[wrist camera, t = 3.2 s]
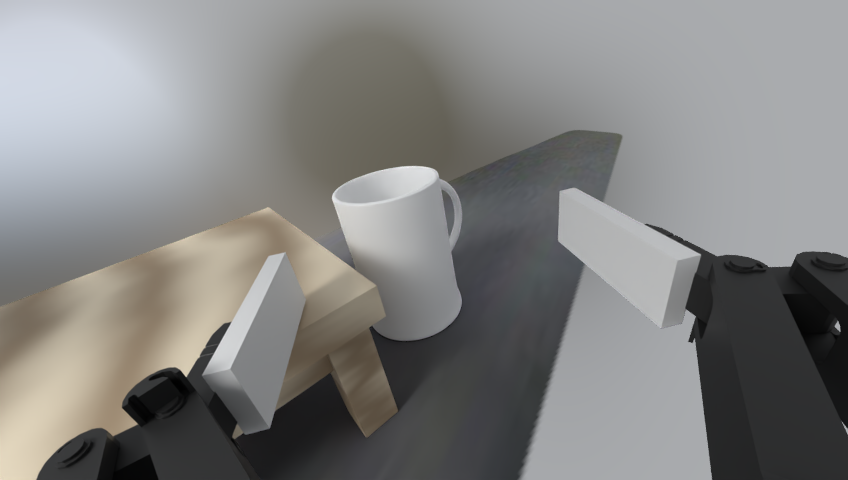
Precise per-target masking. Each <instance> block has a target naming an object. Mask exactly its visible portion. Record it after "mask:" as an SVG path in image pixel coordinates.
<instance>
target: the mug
mask: <svg viewBox="0 0 848 480" xmlns="http://www.w3.org/2000/svg"><path fill="white" fill-rule="evenodd" d="M441 189H442V190H444V191H446V192H447V193H448V194H449V196H450V197H451V199H452V201H453V205H454V211H455V219H454V226H453V230H452V232H451V235H450V237H449V235H448V229H447V223H446V217H445V211H444V204H443V198H442V192H441ZM332 199H333V203H334V206H335V209H336V212H337V215H338V218H339V221H340V224H341V227H342V230H343V233H344V236H345V239H346V241H347V244H348V247H349V250H350V253H351V256H352V259H353V262H354V265H355V268H356V271H357V272H359V273H360V274H361V275H363V276H364V277H366V278H367V279H368V280H370V281H371V282H373V283H374V284H375V285H377V288H378V291H379V295H380V298H381V301H382V304H383V308H384V311H385V314H386V317H384V318H383V319H381V320H380V321H378V322H377V323H375V324H374V325H372V326H373V328H374V329H375V330H376V331H377V332H378V333H379V334H381V335H382V336H384V337H386V338H389V339H393V340H398V341H413V340H420V339H424V338H427V337H430V336H432V335H435V334H437V333H439V332H440V331H442V330H444V329H445V328H446V327H448V326H449V325H450V324H451V323H452V322H453V321H454V320H455V319H456V317H457V316H458V314H459V312H460V309H461V305H462V298H461V294H460V291H459V289H458V287H457V283H456V278H455V272H454V266H453V260H452V254H451V251H452V249H453V248H454V246H455V244H456V242H457V239H458V237H459V233H460V229H461V224H462V208H461V203H460V200H459V197H458V195H457V193H456V191H455V190H454V189H453V187H452V186H451V185H449V184H448V183H447V182H445V181H443V180H441V179H439V175H438V172H437V171H436V170H434V169H432V168H429V167H423V166H406V167H397V168H390V169H385V170H380V171H376V172H373V173H370V174H366V175H363V176H361V177H358V178H356V179H353V180H351V181H349V182H347V183H345V184H344V185H342V186H341V187H339V188H338V189H337V190H336V191H335V192H334V193H333V195H332Z"/></svg>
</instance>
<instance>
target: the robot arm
mask: <svg viewBox="0 0 848 480" xmlns="http://www.w3.org/2000/svg"><path fill="white" fill-rule="evenodd" d="M558 241H559V242H560V243H561V244H562V245H564V246H565V247H566V248H567V249H568V250H569V251H571V252H572V253H573V254H574V255H575V256H576V257H578V258H579V259H580V260H581V261H582V262H583V263H585V264H586V265H587V266H588V267H589V268H590V269H592V270H593V271H594V272H595V273H596V274H597V275H599V276H600V277H601V278H602V279H603V280H605V281H606V282H607V283H608V284H609V285H610V286H611V287H613V288H614V289H615V290H616V291H617V292H619V293H620V294H621V295H622V296H623V297H624V298H626V299H627V300H628V301H629V302H630V303H631V304H633V305H634V306H635V307H636V308H637V309H638V310H640V311H641V312H642V313H643V314H644V315H646V316H647V317H648V318H649V319H650V320H651V321H652V322H654V323H655V324H656V325H657V326H658V327H659V328H661V329H662V328H666V327H670V326H674V325H677V324H682V321H683V318H684V314H685V311H686V309H687V310H688V311H689V312H691V313H692V314H694V315H695V316H696V318H695V321H694V325H693V328H692V332H691V335H690V338H689V342H691V343H692V342H693V340H694V338H695V342H696V350H697V357H698V366H699V374H700V382H701V390H702V399H703V407H704V415H705V423H706V432H707V440H708V448H709V456H710V465H711V473H712V480H848V435H847V433H846V430H845V428H844V426H843V424H842V422H843V423H844V425H845V426H846V427H847V428H848V258H846V257H843V256H841V255H838V254H831V253H828V252H802V253H800V254H797V255H796V257H795V260H794V262H793V264H792V266H791V267H768V266H767V265H765V264H764V263H762V262H760V261H757V260H754V259H752V258H749V257H743V256H738V255H724V256H718V257H717V256H715V255H713V254H711V253H709V252H707V251H705V250H703V249H701V248H700V247H698V246H696V245H694V244H692V243H690V242H688V241H684V240H683V239H682V238H680V237H678V236H676V235H675V236H674V235H673V234H672V233H670V232H668V231H666V230H664V229H662V228H659V227H656V226H652V225H649V224H642V223H640V222H639V221H636V220H634V219H633V218H631V217H629V216H627V215H625V214H623V213H622V212H620V211H618V210H616V209H614V208H612V207H610V206H608V205H606V204H605V203H603V202H601V201H599V200H597V199H595V198H593V197H591V196H589V195H588V194H586V193H584V192H582V191H580V190H578V189H576V188H571V189H567V190H562V191H560V196H559V227H558ZM305 301H306V298H305V296H304V294H303V291H302V289H301V287H300V284H299V282H298V280H297V278H296V275H295V273H294V271H293V268H292V266H291V264H290V262H289V259H288V257H287V255H286V252H284V253H280V254H275V255H271V256H268V258H267V260H266V262H265V263H264V265H263V267H262V269H261V270H260V272H259V274H258V276H257V278H256V279H255V281H254V283H253V285H252V287H251V288H250V290H249V292H248V294H247V296H246V297H245V299H244V301H243V303H242V305H241V306H240V308H239V310H238V312H237V313H236V315H235V317H234V319H233V321H232V322H228V323H224V324H223V325H222V326H221V327H220V328H219V329H218V330H216V331H215V332H214V333H213V334H212V336H211V337H210V339H209V341H208V342H207V344H206V346H205V347H206V348H204V349H203V351H202V352H201V354H200V357H199V358H198V359H197V360H196V362H195V364H194V365H193V367H192V369H191V370H190V372H189V374H188V375H187V377H185V375H184V374H183V373H182V371H181V370H180V369H178V368H176V367H168V368H165V369H162V370H159V371H157V372H155V373H153V374H151V375H149V376H147V377H146V378H144V379H143V380H142V381H140V382H139V383H137V384H136V385H135V386H134V387H133V388H132V389H131V390H130V391H129V392H128V393H127V395H126V397H125V398H124V400H123V402H122V408H123V410H124V411H125V412H126V413H127V414H128V415H129V416H130V417H131V418H132V419H133V420H134V421H135V422H136V423H137V424H138V425H135V426H133V427H131V428H129V429H127V430H125V431H123V432H121V433H119V434H117V435H115V436H112V435H111V434H110V433H109V432H108V431H107V430H105V429H103V428H95V429H91V430H88V431H86V432H84V433H81V434H79V435H78V436H76V437H75V438H73V439H71V440H69V441H68V442H66V443H65V444H64V445H63V446H61V447H60V448H59V449H58V450H57V451H56V452H55V453H54V454H53V455H52V456H51V457H50V458H49V459H48V460H47V461H46V462H45V464H44V465H43V467H42V469H41V470H40V472H39V474H38V476H37V479H36V480H260V478H259V477H258V475H257V474H256V472H255V471H254V469H253V467H252V466H251V464H250V463H249V461H248V460H247V458H246V456H245V455H244V453H243V452H242V450H241V449H240V447H239V445H238V444H237V442H236V441H235V440H234V438H233V437H232V436H233V433H234V430H235V428H236V425H237V424H238V426H239V427H240V428H241V430H242V431H243V432H244V434H245V435H247V434H250V433H254V432H258V431H262V430H266V429H270V426H271V423H272V419H273V416H274V412H275V408H276V405H277V401H278V398H279V394H280V391H281V387H282V383H283V380H284V376H285V373H286V369H287V366H288V362H289V358H290V355H291V351H292V348H293V344H294V341H295V337H296V333H297V330H298V326H299V323H300V319H301V316H302V312H303V308H304V305H305ZM837 321H839V324H840V329H841V332H839V331H838V330H837V329H836V328H835V327H834V326H835V324H836V323H837ZM841 421H842V422H841Z"/></svg>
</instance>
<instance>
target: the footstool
mask: <svg viewBox="0 0 848 480" xmlns="http://www.w3.org/2000/svg"><path fill="white" fill-rule="evenodd" d="M284 252H286V255H287V257H288V259H289V262H290V264H291V266H292V268H293V271H294V273H295V275H296V278H297V280H298V282H299V284H300V287H301V289H302V291H303V294H304V296H305V298H306V301H305V305H304V308H303V312H302V316H301V319H300V323H299V326H298V330H297V333H296V337H295V341H294V344H293V348H292V351H291V355H290V358H289V362H288V366H287V369H286V373H285V376H284V380H283V383H282V387H281V391H280V394H279V398H278V401H277V405H276V408H275V411H276V410H277V409H279V408H280V407H282V406H283V405H285V404H286V403H287V402H289V401H290V400H292V399H293V398H295V397H296V396H298V395H299V394H300V393H302V392H303V391H305V390H306V389H308V388H309V387H311V386H312V385H313V384H315V383H316V382H318V381H319V380H321V379H322V378H324V377H325V376H326V375H328V374H329V373H331V375H332V377H333V379H334V381H335V384H336V386H337V388H338V390H339V392H340V394H341V396H342V399H343V401H344V403H345V405H346V407H347V409H348V411H349V413H350V415H351V416H352V417H353V419H354V420H355V422H356V423H357V425H358V426H359V428H360V429H361V431H362V432H363V434H364V435H365V437H366V438H368V437H369V436H370V435H371V434H372V433H373V432H375V431H376V430H377V429H378V428H379V427H380V426H382V425H383V424H384V423H385V422H386V421H387V420H389V419H390V418H391V417H392V416H393V415H394V414H396V413H397V412H398V409H397V406H396V403H395V400H394V397H393V395H392V392H391V389H390V386H389V383H388V380H387V377H386V375H385V372H384V369H383V366H382V363H381V360H380V357H379V355H378V352H377V349H376V346H375V343H374V340H373V337H372V335H371V332H370V329H369V327H371V326H372V325H374V324H375V323H377V322H378V321H380V320H381V319H383V318H384V317H386V314H385V311H384V308H383V304H382V301H381V298H380V295H379V291H378V288H377V285H375V284H374V283H373V282H371V281H370V280H368V279H367V278H366V277H364V276H363V275H361V274H360V273H359V272H357V271H356V270H355V269H353V268H352V267H350V266H349V265H348V264H346V263H345V262H344V261H342V260H341V259H339V258H338V257H337V256H335V255H334V254H332V253H331V252H330V251H328V250H327V249H326V248H324V247H323V246H321V245H320V244H319V243H317V242H316V241H314V240H313V239H312V238H310V237H309V236H308V235H306V234H305V233H303V232H302V231H300V230H299V229H298V228H296V227H295V226H294V225H292V224H291V223H290V222H288V221H287V220H285V219H284V218H283V217H281V216H280V215H278V214H277V213H276V212H274V211H273V210H271V209H270V208H265V209H262V210H260V211H257V212H254V213H252V214H249V215H246V216H244V217H241V218H238V219H236V220H233V221H230V222H228V223H225V224H222V225H219V226H217V227H214V228H211V229H209V230H206V231H203V232H201V233H198V234H196V235H192V236H190V237H187V238H184V239H182V240H179V241H177V242H174V243H171V244H168V245H165V246H163V247H160V248H158V249H155V250H152V251H149V252H147V253H144V254H141V255H139V256H136V257H133V258H130V259H128V260H125V261H122V262H120V263H117V264H114V265H112V266H109V267H106V268H104V269H101V270H98V271H95V272H93V273H90V274H87V275H85V276H82V277H79V278H77V279H74V280H71V281H68V282H66V283H63V284H60V285H58V286H55V287H53V288H50V289H47V290H44V291H42V292H39V293H36V294H33V295H31V296H28V297H26V298H23V299H20V300H17V301H15V302H12V303H9V304H6V305H4V306H1V307H0V480H36V479H37V476H38V474H39V472H40V470H41V469H42V467H43V465H44V464H45V462H46V461H47V460H48V459H49V458H50V457H51V456H52V455H53V454H54V453H55V452H56V451H57V450H58V449H59V448H60V447H61V446H63V445H64V444H65V443H66V442H68V441H69V440H71V439H73V438H75V437H76V436H78V435H79V434H81V433H84V432H86V431H88V430H91V429H95V428H103V429H105V430H107V431H108V432H109V433H110V434H111V435H112V436H115V435H117V434H119V433H121V432H123V431H125V430H127V429H129V428H131V427H133V426H135V425H138V424H137V423H136V422H135V421H134V420H133V419H132V418H131V417H130V416H129V415H128V414H127V413H126V412H125V411H124V410H123V408H122V402H123V400H124V398H125V397H126V395H127V393H128V392H129V391H130V390H131V389H132V388H133V387H134V386H135V385H136V384H137V383H139V382H140V381H142V380H143V379H144V378H146V377H147V376H149V375H151V374H153V373H155V372H157V371H159V370H162V369H165V368H168V367H176V368H178V369H180V370H181V371H182V373H183V374H184V375H185V377H187V375H188V374H189V372H190V370H191V369H192V367H193V365H194V364H195V362H196V360H197V359H198V358H199V357H200V354H201V352H202V351H203V349H204V348H206V347H205V346H206V344H207V342H208V341H209V339H210V337H211V336H212V334H213V333H214V332H215V331H216V330H218V329H219V328H220V327H221V326H222V325H223V324H224V323H228V322H232V321H233V319H234V317H235V315H236V313H237V312H238V310H239V308H240V306H241V305H242V303H243V301H244V299H245V297H246V296H247V294H248V292H249V290H250V288H251V287H252V285H253V283H254V281H255V279H256V278H257V276H258V274H259V272H260V270H261V269H262V267H263V265H264V263H265V262H266V260H267V258H268V256H271V255H275V254H280V253H284ZM243 433H244V432H243V431H242V430H241V428H240V427H239V426H238V424H237V425H236V428H235V430H234V433H233V436H232V437H233V438H234V439H235V438H237V437H238V436H240V435H241V434H243Z"/></svg>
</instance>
